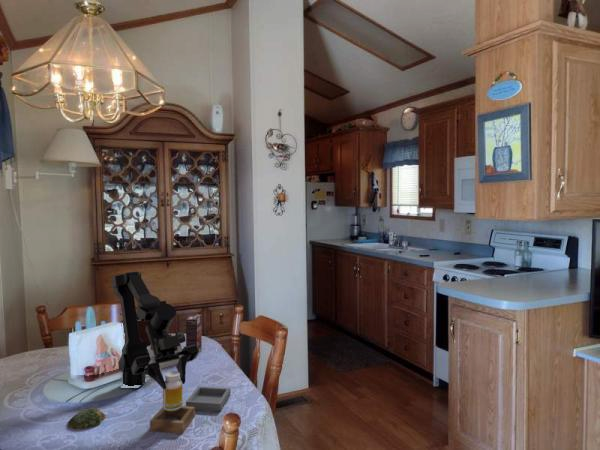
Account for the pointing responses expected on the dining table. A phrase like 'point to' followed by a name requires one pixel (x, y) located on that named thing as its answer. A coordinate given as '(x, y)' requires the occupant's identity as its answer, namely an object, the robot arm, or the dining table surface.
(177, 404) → the supplement bottle
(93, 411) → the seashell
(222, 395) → the charcoal tray
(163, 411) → the walnut collar
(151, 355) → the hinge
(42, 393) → the dining table surface
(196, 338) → the supplement box
